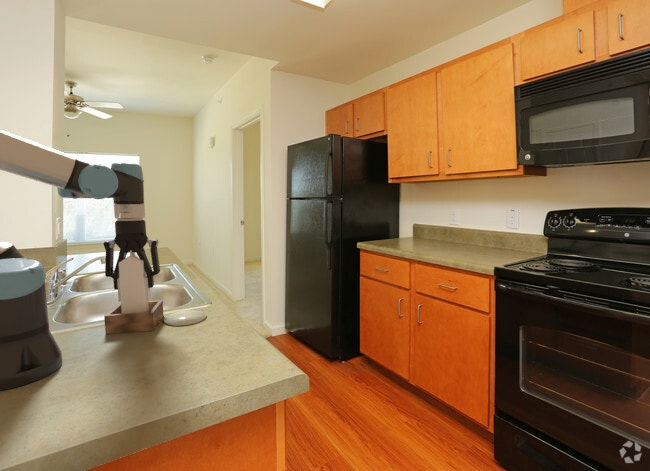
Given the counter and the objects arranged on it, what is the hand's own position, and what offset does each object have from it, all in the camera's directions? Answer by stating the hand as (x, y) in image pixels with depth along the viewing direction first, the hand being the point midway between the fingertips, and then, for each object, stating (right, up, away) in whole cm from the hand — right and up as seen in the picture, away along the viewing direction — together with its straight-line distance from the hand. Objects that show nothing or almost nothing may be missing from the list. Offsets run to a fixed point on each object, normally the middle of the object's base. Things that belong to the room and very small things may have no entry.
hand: (135, 299), depth 100 cm
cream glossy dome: (+12, -7, +6) cm, 15 cm away
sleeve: (0, -7, +1) cm, 7 cm away
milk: (0, -8, +1) cm, 8 cm away
